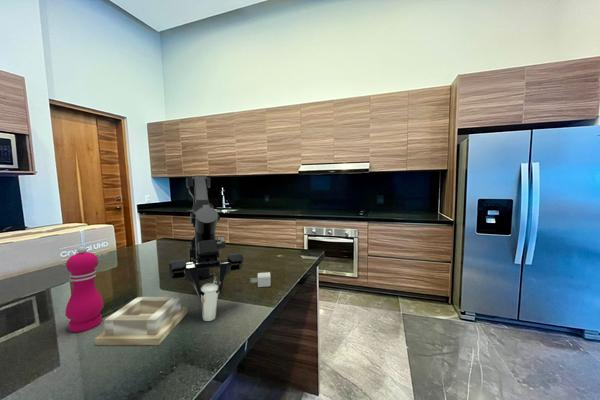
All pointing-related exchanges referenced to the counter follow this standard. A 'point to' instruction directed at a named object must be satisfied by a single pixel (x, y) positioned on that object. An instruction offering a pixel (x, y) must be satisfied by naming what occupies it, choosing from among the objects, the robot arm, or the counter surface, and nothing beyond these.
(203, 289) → the milkshake
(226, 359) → the counter surface
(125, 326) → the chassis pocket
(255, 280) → the usb wall charger
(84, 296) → the pepper mill
